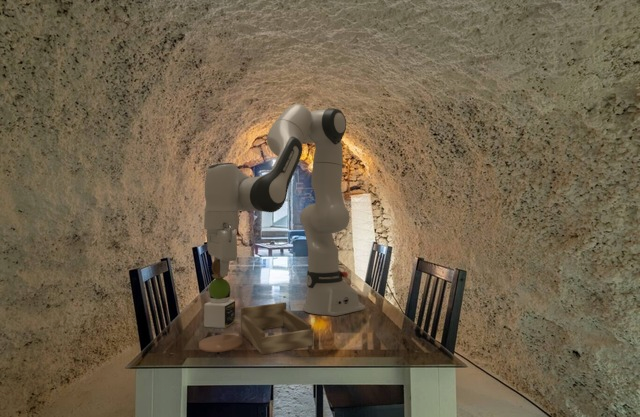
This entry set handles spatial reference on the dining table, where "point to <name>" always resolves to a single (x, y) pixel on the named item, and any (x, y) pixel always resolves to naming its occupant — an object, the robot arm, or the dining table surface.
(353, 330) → the dining table surface
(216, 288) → the snail figurine
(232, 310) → the medicine bottle
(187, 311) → the dining table surface
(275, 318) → the cold frame
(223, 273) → the robot arm
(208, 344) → the tan disc
